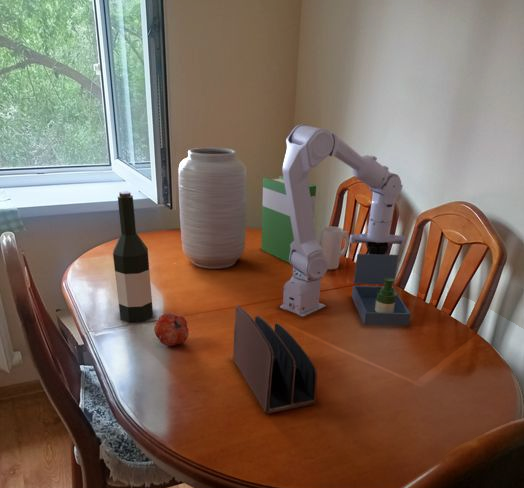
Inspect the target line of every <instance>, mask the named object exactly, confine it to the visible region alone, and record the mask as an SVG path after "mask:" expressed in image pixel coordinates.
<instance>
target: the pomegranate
mask: <svg viewBox="0 0 524 488" xmlns="http://www.w3.org/2000/svg"><path fill="white" fill-rule="evenodd" d="M153 332H154V335H155V337H156V338H157V339H158V341H159V342H160V343H161V344H162V345H164V346H167V347H173V346H176V345H181V344H183V343H185V341H186V340H187V339H188V338H189V328H188V322H187V320H186V318H185V317H184V316H183V315H181V314H175V313H172V312H168V313H164V314H161V315H160V316H159V317H158V318H157V320H156V321H155V325H154V327H153Z"/></svg>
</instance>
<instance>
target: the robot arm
mask: <svg viewBox="0 0 524 488" xmlns="http://www.w3.org/2000/svg"><path fill="white" fill-rule="evenodd" d="M285 143H286V150H285V151H286V152H285V155H284V159H283V164H282V168H281V169H282V170H281V171H282V176H283V178H284V183H285V189H286V195H287V201H288V207H289V213H290V219H291V224H292V230H293V236H294V241H293V242H292V243H291V244H290V249H291V251H290V255H289V262H290V263H289V265H290V266H291V267H292V276H291V277H290V279H289V280H287V281H286V282H285V284H284V285H283V295H282V304H281V305H280V306H279V308H280V309H282V310H284V311H289V312H292V313H294V314H295V315H298V316H300V317H305V316H308V315H310V314H312V313H315V312H316V311H319V310H321V309H323V308H324V307H326V304H324V303H321V302H320V295H321V294H320V293H321V284H322V279H323V277H324V276H325V274H326V273H327V272H328V270H329V269H328V261H327V259H326V258H325V256H324V254H323V249H322V247H321V246H320V241H318V239H317V234H316V227H315V226H316V225H315V217H314V218H313V211H312V204H311V197H310V190H309V184H310V183H309V178H308V175H309V174H310V173H311V172H312V170H313V169H315V168H316V167H317V166H319V164H321V163H322V162H323V161H324V160H326V159H327V158H328V157H334V158H336V159H338V160H339V161H340V162H342V163H343V164H345V165H347V166H348V167H350V168H351V169H352V175H353V177H354V178H356V179H357V180H359V181H360V182H361V183H362V184H364V185H366V186H367V187H368V189H369V191H370V192H372V196H371V205H370V211H369V219H368V226H367V232H366V233H357V234H354V233H353V234H351V233H350V234H349V244H351V245H353V244H365V246H366V250H367V254H383V255H386V253H387V252H388V250H389V245H401V246H405V245H406V241H407V237H406V236H405V235H399V234H390V233H391V228H392V222H393V221H392V220H393V216H394V215H393V214H394V208H395V204H396V202H397V199H398V196H399V194H400V193H401V191H402V190H403V186H404V185H403V184H402V180H401V178H400V177H401V176H399V175H398V174H396V173H394V172H390V171H389V170H390V169H389V167H388V166H387V165H382V164H381V163H380V162H378V161H377V160H378V158H377V157H376V156H375V155H373V154H370V155H368V154H365V155H360V154H359V153H358V152H357V151H356V150H354V149H353V148H352V147H351V146H350V145H349V144H348V143H346V142H345V141H344V140H343V139H341V137H339V135H337V134H336V133H333V132H331V131H330V130H329V129H327V128H323V127H320V128H319V127H314V126H311V125H308V124H305V123H304V124H303V123H301V124H298V125H296V126H295V127H293V129H292V130H291V131H290V133H289V134H288V136H287V138H286V139H285Z"/></svg>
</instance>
